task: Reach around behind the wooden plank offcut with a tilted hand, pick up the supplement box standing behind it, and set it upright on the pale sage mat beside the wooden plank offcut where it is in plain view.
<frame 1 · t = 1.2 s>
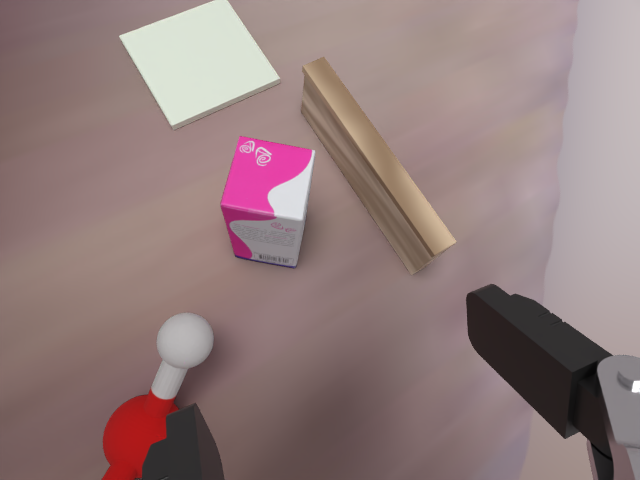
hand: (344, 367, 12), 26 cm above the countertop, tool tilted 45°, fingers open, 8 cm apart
wooden plank offcut: (360, 185, 44), on the countertop
supplement box: (271, 234, 41), on the countertop
molecular model: (157, 431, 35), on the countertop
mat: (200, 62, 46), on the countertop
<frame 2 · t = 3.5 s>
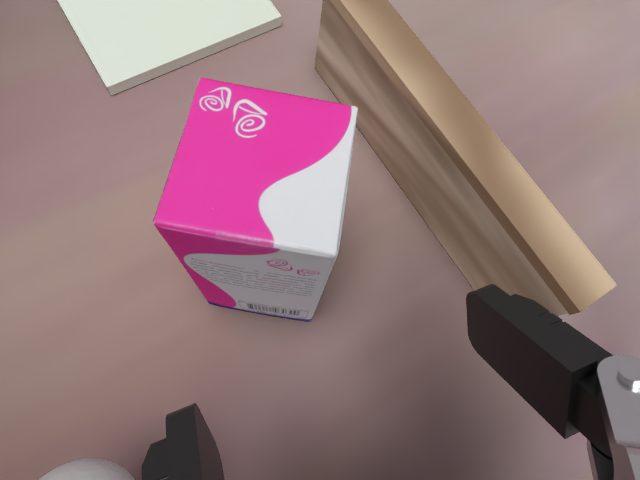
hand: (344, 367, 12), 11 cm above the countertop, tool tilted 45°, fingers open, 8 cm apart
wooden plank offcut: (411, 182, 27), on the countertop
supplement box: (269, 263, 25), on the countertop
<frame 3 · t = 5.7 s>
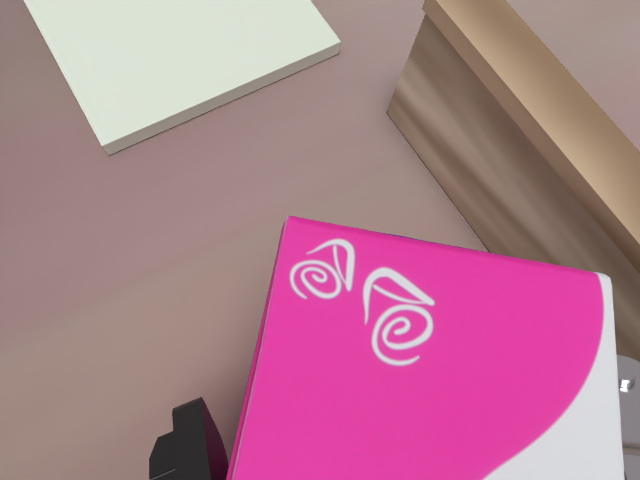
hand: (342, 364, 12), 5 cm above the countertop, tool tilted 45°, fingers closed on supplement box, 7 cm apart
wooden plank offcut: (529, 278, 19), on the countertop
supplement box: (336, 407, 17), on the countertop, touching gripper
mat: (174, 10, 22), on the countertop
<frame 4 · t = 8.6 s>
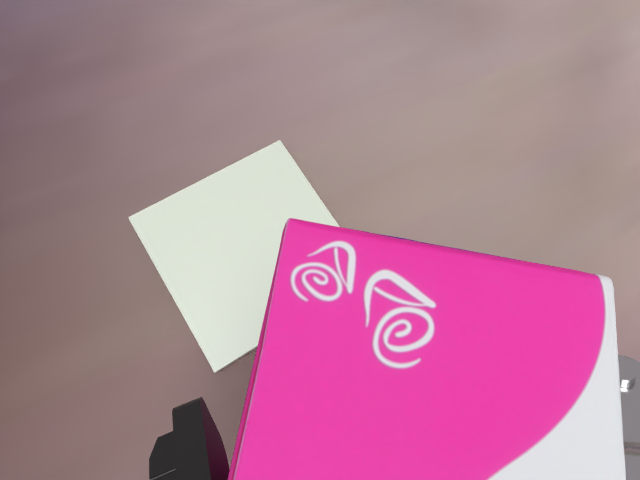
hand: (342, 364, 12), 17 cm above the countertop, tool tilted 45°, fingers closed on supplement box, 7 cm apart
supplement box: (337, 408, 17), point 12 cm above the countertop, touching gripper
mat: (250, 249, 31), on the countertop
when the fingers open (7 cm above the countertop, at t = 11.9 s): supplement box drops 1 cm, resting on mat.
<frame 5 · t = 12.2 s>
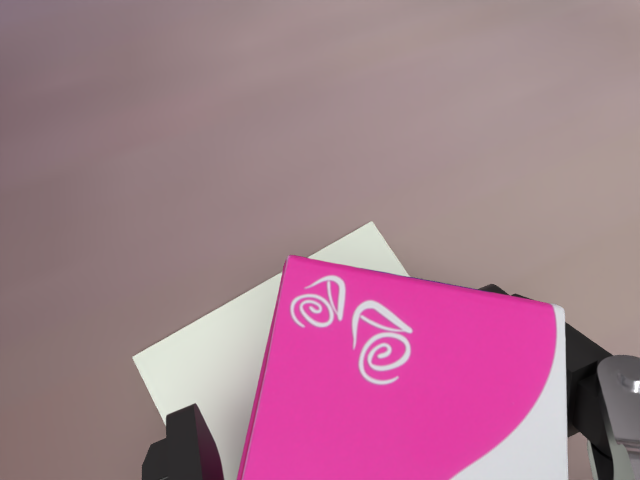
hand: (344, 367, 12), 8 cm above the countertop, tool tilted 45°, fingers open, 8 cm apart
supplement box: (333, 412, 18), point 1 cm above the countertop, touching mat
mat: (330, 406, 19), on the countertop
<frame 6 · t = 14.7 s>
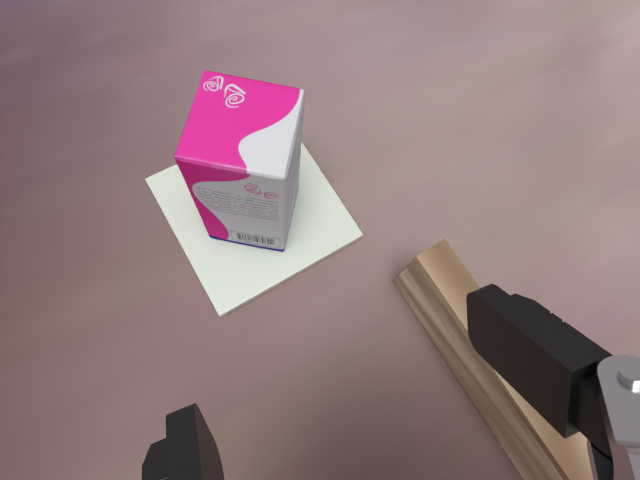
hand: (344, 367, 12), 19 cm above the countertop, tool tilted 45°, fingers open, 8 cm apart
wooden plank offcut: (480, 395, 31), on the countertop
supplement box: (254, 210, 34), point 1 cm above the countertop, touching mat
mat: (254, 210, 34), on the countertop
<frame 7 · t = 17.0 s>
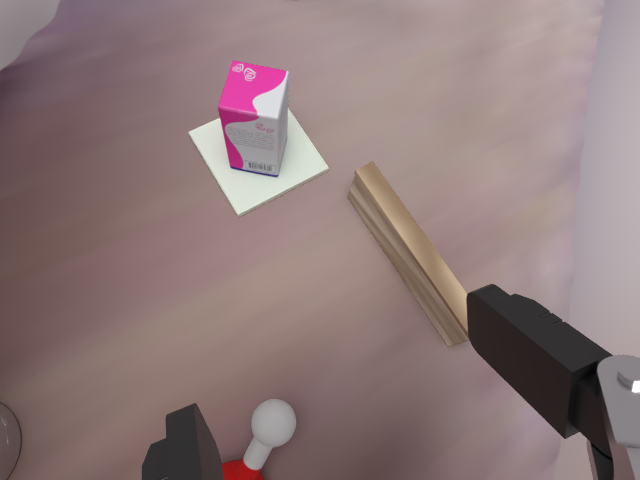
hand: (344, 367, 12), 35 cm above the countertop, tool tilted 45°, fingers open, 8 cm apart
wooden plank offcut: (401, 264, 50), on the countertop
supplement box: (259, 152, 52), point 1 cm above the countertop, touching mat
mat: (258, 153, 53), on the countertop
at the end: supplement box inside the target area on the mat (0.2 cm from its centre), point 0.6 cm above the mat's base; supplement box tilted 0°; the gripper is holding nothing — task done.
